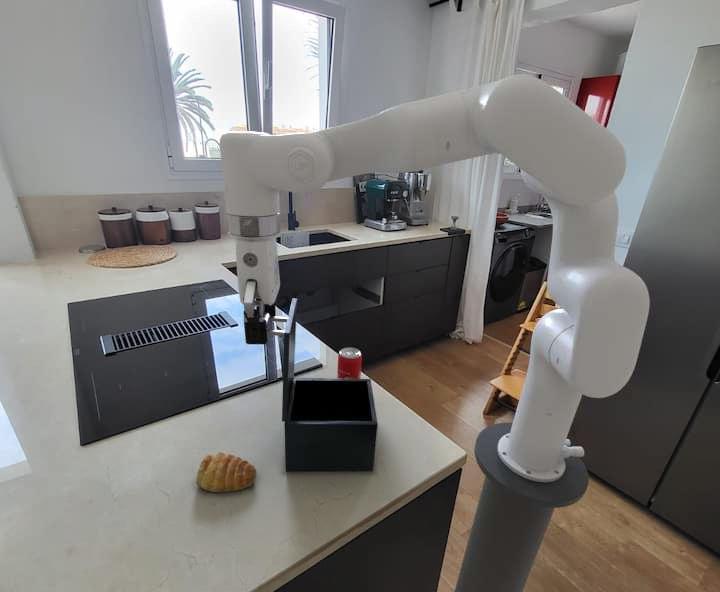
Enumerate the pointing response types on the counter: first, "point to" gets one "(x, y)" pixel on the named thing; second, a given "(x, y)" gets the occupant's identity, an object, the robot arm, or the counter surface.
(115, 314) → the counter surface
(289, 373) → the bin lid
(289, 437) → the waste bin
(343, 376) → the beverage can
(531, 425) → the robot arm
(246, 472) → the pastry
